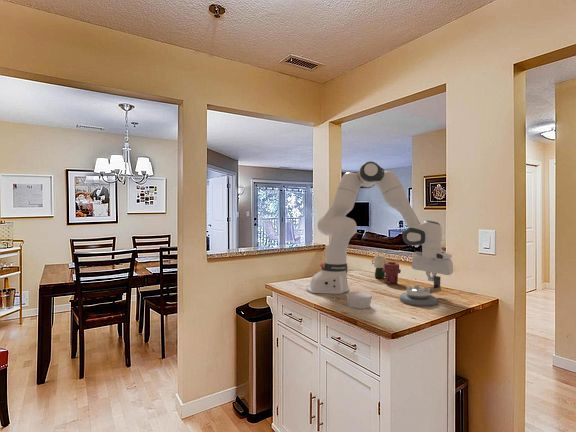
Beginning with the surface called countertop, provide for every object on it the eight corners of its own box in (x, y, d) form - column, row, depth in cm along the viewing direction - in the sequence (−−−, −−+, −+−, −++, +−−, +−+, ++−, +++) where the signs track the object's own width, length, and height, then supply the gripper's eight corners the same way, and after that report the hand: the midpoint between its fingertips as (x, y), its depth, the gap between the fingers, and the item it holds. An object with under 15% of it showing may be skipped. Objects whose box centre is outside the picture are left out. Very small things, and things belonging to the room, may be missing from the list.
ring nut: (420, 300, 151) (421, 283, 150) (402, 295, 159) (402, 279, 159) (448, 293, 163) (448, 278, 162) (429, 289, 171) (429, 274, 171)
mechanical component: (381, 281, 200) (398, 281, 199) (384, 285, 190) (402, 285, 189) (381, 260, 200) (398, 260, 199) (384, 263, 190) (402, 263, 189)
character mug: (390, 278, 209) (390, 257, 209) (386, 280, 204) (386, 258, 203) (373, 275, 216) (373, 255, 215) (369, 277, 210) (369, 256, 209)
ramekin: (353, 301, 157) (353, 290, 157) (376, 306, 150) (376, 294, 150) (341, 306, 149) (341, 294, 149) (364, 311, 142) (364, 299, 141)
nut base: (409, 306, 149) (409, 301, 149) (394, 297, 165) (394, 292, 165) (443, 306, 151) (443, 301, 151) (425, 296, 167) (425, 292, 166)
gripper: (409, 251, 174) (408, 278, 175) (448, 256, 158) (447, 285, 159) (416, 250, 178) (415, 276, 179) (455, 255, 162) (454, 283, 162)
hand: (431, 280), depth 169 cm, fingers closed
